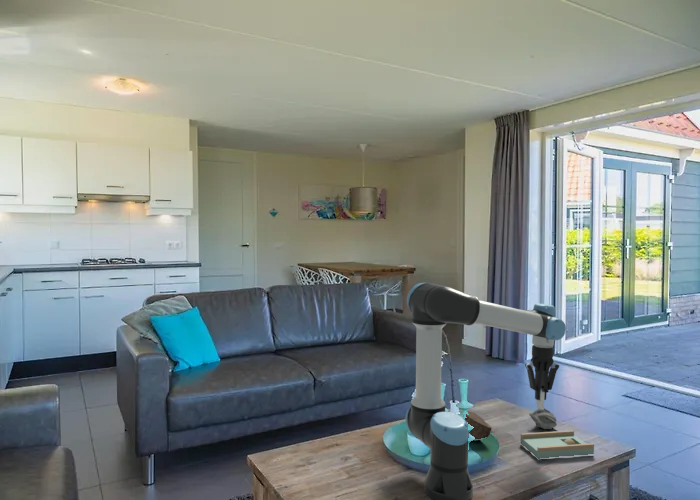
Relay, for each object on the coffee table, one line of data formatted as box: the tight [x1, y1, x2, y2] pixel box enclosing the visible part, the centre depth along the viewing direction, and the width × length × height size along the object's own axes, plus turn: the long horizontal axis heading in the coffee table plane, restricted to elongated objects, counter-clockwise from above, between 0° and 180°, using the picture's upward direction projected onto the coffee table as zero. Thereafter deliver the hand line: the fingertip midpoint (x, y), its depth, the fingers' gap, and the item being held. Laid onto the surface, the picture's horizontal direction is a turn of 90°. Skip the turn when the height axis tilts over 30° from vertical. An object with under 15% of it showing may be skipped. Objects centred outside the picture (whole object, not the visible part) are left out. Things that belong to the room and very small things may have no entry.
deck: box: [520, 430, 595, 459], centre depth 187 cm, size 22×13×4 cm, turn 99°
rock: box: [465, 411, 493, 439], centre depth 195 cm, size 12×10×10 cm
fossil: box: [528, 407, 558, 430], centre depth 209 cm, size 11×9×8 cm
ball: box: [564, 439, 575, 445], centre depth 188 cm, size 4×4×4 cm
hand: (540, 408), depth 185 cm, fingers closed
